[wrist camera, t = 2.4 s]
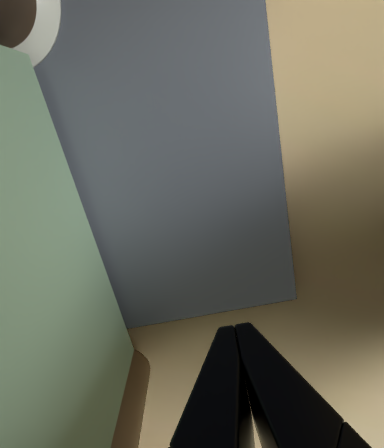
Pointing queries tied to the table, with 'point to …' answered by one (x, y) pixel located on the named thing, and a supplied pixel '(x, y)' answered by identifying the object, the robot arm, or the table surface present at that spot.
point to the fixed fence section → (16, 21)
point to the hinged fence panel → (55, 294)
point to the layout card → (171, 148)
